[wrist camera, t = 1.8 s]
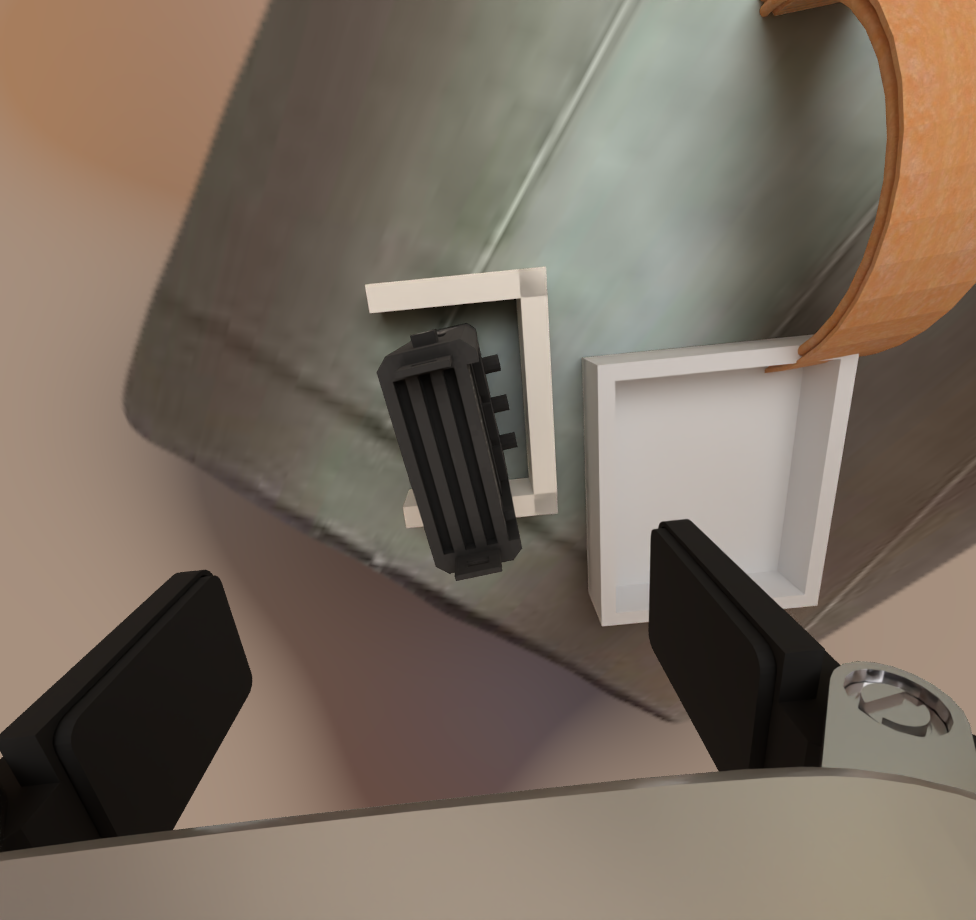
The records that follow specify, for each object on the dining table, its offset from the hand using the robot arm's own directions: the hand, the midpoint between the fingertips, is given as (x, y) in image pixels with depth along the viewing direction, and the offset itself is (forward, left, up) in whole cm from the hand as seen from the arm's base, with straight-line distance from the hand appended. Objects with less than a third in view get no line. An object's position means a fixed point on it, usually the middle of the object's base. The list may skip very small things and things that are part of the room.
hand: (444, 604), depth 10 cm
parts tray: (-15, +7, -22) cm, 27 cm away
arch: (-21, -10, -22) cm, 33 cm away
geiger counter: (0, 0, -22) cm, 22 cm away
